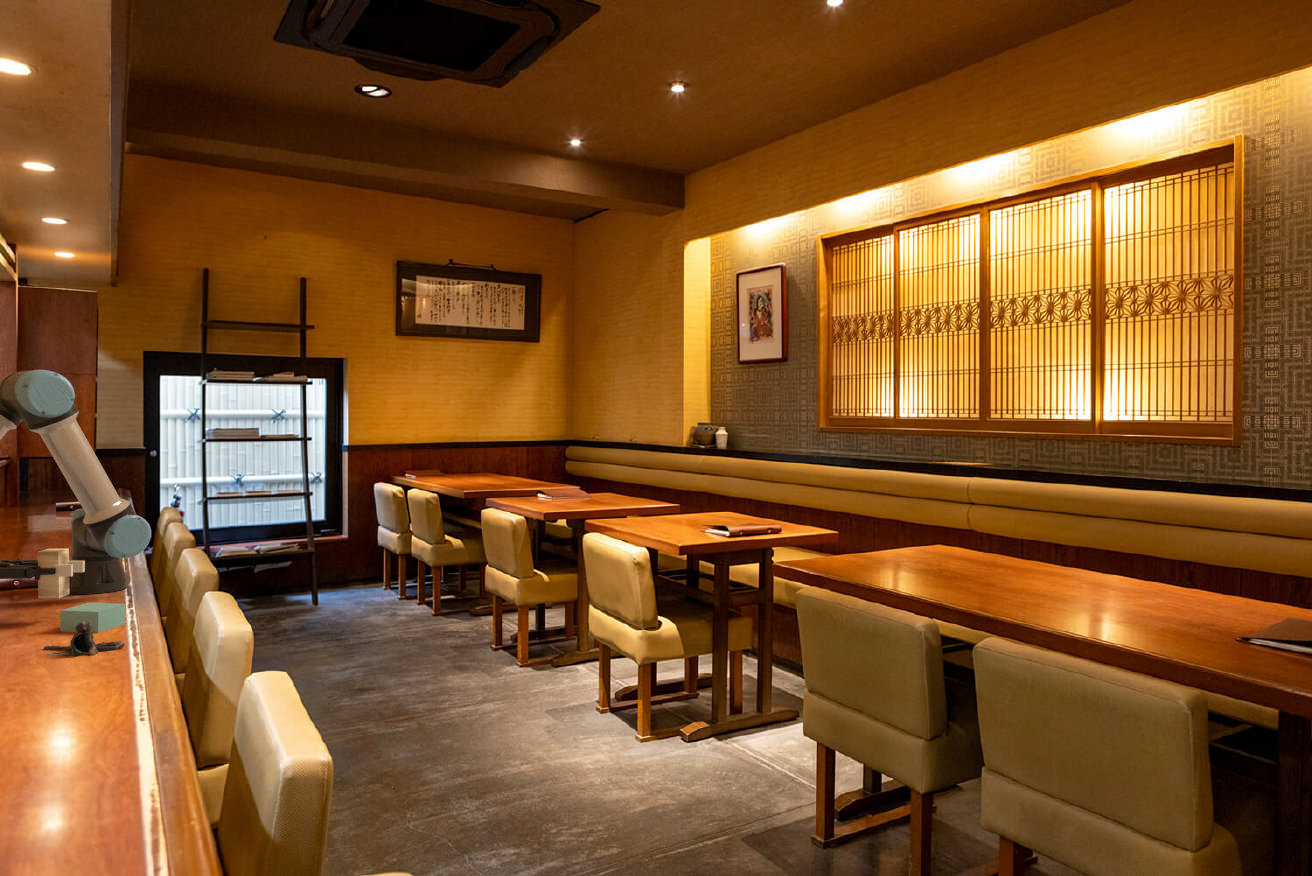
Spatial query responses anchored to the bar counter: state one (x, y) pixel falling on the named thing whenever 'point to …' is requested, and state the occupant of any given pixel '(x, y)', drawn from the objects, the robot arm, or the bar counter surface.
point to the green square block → (93, 616)
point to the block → (53, 585)
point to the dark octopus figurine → (84, 643)
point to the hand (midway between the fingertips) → (77, 568)
